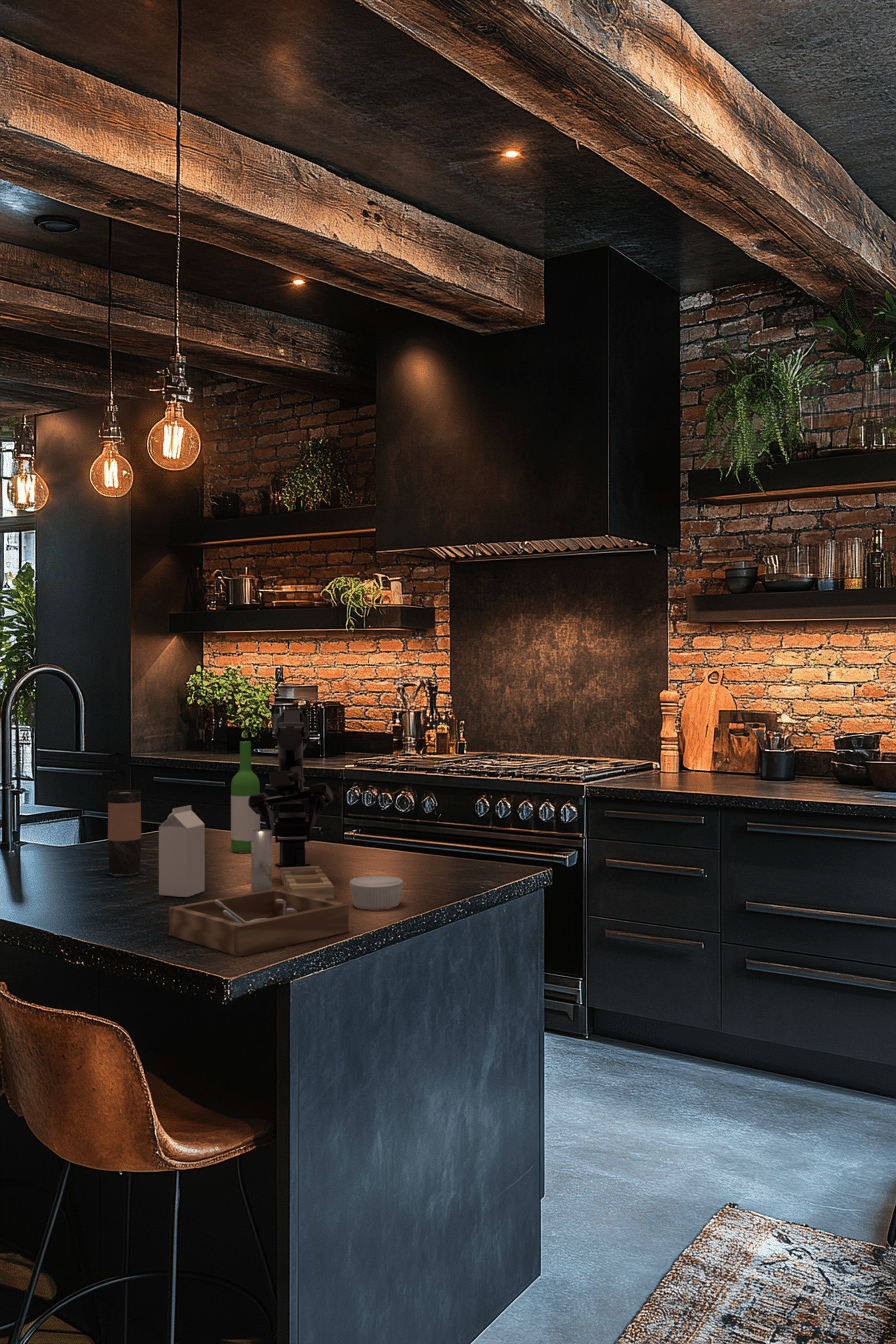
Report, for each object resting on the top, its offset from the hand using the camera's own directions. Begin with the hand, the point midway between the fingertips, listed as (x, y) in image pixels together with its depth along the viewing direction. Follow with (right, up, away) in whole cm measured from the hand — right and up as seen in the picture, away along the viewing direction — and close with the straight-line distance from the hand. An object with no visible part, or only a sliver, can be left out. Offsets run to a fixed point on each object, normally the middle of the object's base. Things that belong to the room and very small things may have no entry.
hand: (290, 832), depth 239 cm
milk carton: (-23, -12, -8) cm, 27 cm away
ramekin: (+21, -12, -20) cm, 32 cm away
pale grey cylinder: (-5, -12, -10) cm, 16 cm away
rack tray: (+1, -12, -44) cm, 46 cm away
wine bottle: (-20, -13, +49) cm, 54 cm away
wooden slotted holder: (+4, -12, -2) cm, 13 cm away
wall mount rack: (0, -12, -43) cm, 45 cm away
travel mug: (-42, -13, +15) cm, 47 cm away
